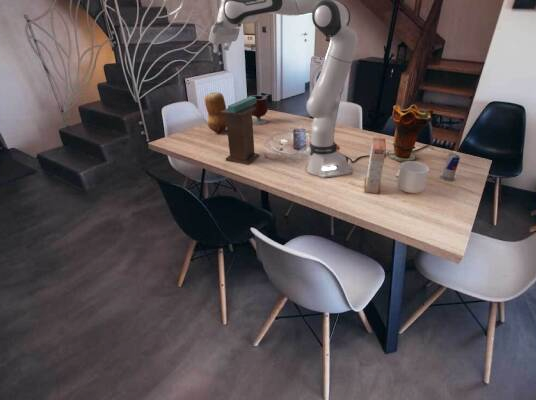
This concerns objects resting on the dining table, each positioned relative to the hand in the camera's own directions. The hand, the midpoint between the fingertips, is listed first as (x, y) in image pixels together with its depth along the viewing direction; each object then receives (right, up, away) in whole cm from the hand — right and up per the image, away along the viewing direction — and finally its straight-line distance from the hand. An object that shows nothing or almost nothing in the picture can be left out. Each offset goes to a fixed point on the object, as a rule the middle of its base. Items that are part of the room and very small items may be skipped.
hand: (221, 51), depth 148 cm
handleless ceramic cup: (+88, -67, -8) cm, 111 cm away
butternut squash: (-15, -28, +51) cm, 60 cm away
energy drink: (+110, -61, +2) cm, 126 cm away
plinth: (+7, -49, +17) cm, 53 cm away
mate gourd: (+8, -16, +73) cm, 75 cm away
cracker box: (+72, -65, -7) cm, 97 cm away
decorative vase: (+95, -47, +25) cm, 109 cm away
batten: (+9, -25, +7) cm, 28 cm away
